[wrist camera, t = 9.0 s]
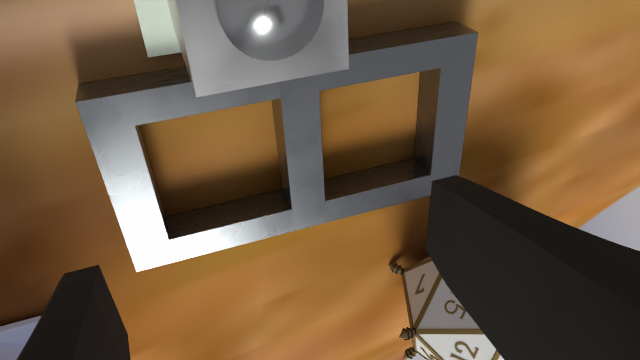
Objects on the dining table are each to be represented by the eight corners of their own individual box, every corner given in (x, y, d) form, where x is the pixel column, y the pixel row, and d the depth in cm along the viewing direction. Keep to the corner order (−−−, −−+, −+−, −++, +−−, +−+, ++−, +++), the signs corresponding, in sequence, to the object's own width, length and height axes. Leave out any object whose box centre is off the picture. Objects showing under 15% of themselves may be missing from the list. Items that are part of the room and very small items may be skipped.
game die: (432, 209, 32) (595, 284, 28) (373, 329, 31) (530, 422, 27) (407, 178, 24) (632, 277, 20) (328, 338, 23) (541, 473, 19)
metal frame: (135, 247, 21) (136, 271, 20) (78, 83, 17) (75, 102, 16) (440, 171, 25) (457, 188, 24) (456, 21, 21) (478, 32, 20)
